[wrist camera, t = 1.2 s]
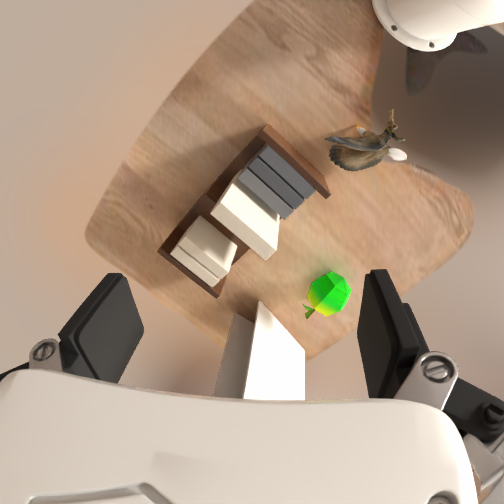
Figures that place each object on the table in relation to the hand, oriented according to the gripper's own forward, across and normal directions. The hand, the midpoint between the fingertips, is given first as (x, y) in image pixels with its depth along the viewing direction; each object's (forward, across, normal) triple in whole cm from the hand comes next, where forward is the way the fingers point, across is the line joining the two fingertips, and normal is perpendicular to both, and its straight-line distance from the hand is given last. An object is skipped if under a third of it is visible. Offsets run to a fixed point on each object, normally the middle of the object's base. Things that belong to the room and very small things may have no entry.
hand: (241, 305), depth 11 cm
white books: (+30, +10, +11) cm, 34 cm away
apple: (+31, -6, +21) cm, 38 cm away
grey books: (+30, 0, +2) cm, 30 cm away
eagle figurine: (+31, -11, -2) cm, 33 cm away
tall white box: (+31, +2, +30) cm, 44 cm away
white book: (+30, +2, +4) cm, 30 cm away
